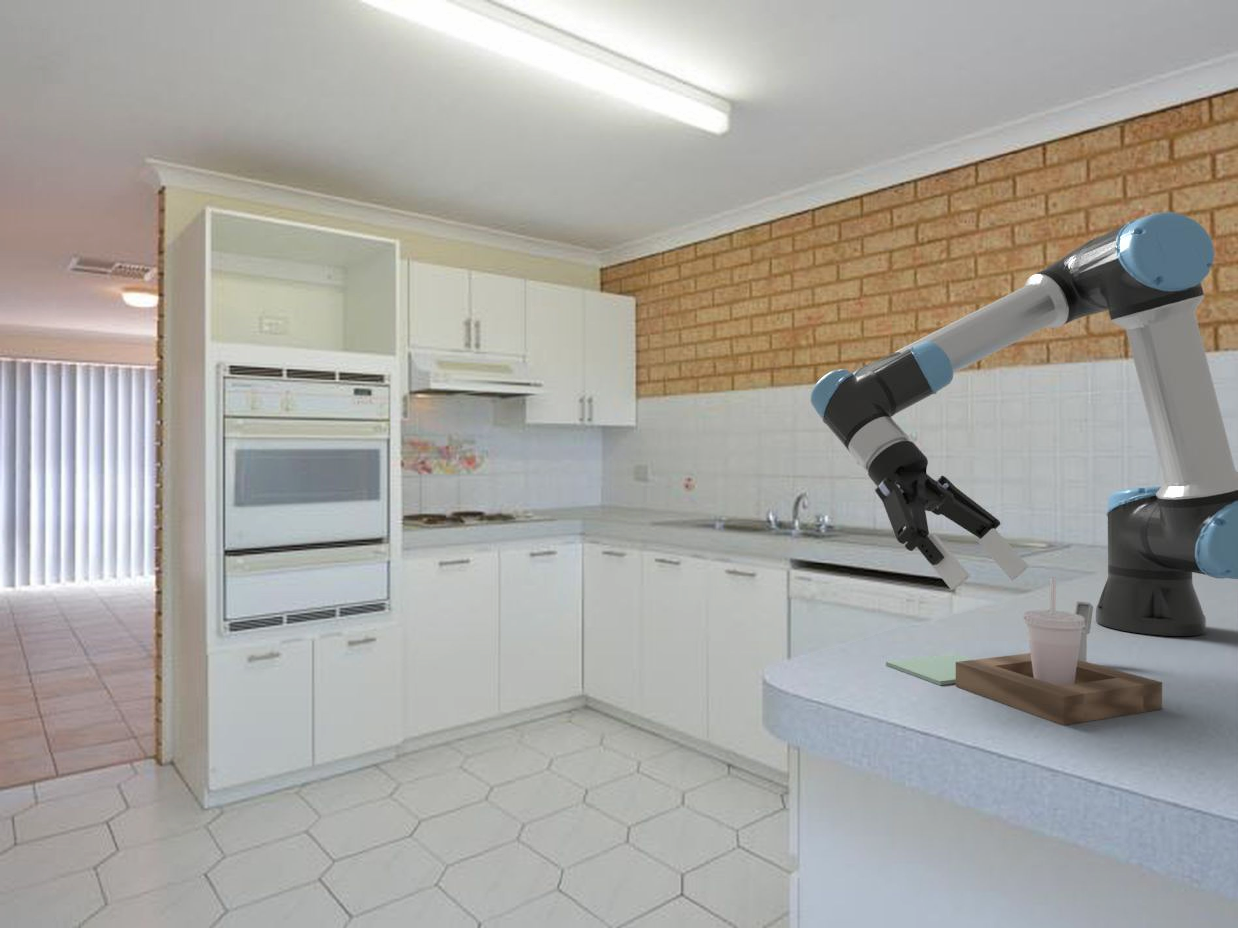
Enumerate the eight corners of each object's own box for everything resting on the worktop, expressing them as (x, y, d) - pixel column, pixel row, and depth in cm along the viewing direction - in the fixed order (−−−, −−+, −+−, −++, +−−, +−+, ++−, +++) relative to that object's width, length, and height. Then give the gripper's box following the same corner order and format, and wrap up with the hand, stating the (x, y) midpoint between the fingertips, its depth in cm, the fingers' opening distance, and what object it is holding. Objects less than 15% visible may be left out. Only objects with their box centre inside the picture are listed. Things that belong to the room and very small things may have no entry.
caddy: (1046, 674, 101) (1046, 651, 101) (1162, 708, 87) (1162, 682, 87) (955, 686, 95) (955, 661, 95) (1063, 725, 81) (1063, 696, 81)
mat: (955, 657, 109) (955, 653, 109) (1013, 675, 100) (1013, 671, 100) (885, 665, 105) (885, 661, 105) (940, 685, 96) (940, 681, 96)
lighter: (1077, 667, 104) (1077, 608, 104) (1063, 665, 105) (1063, 606, 105) (1093, 658, 109) (1093, 601, 109) (1079, 656, 110) (1079, 600, 110)
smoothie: (1078, 691, 93) (1078, 575, 93) (1091, 708, 87) (1091, 583, 87) (1019, 686, 95) (1019, 573, 95) (1028, 702, 89) (1028, 581, 89)
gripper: (924, 474, 118) (1022, 586, 106) (813, 476, 103) (912, 606, 91) (957, 439, 113) (1063, 552, 101) (846, 436, 99) (954, 567, 87)
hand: (991, 578), depth 96 cm, fingers open, 13 cm apart
